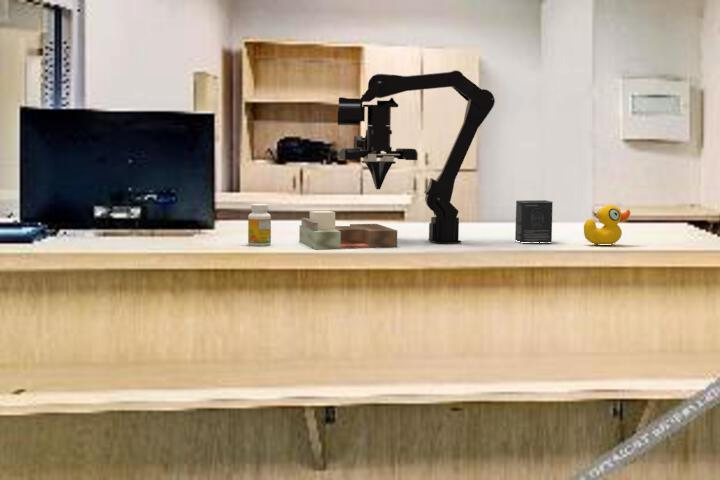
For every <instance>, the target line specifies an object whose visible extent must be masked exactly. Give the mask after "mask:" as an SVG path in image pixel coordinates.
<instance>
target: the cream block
mask: <svg viewBox="0 0 720 480" xmlns="http://www.w3.org/2000/svg"><path fill="white" fill-rule="evenodd" d="M309 219H310V220H312V221H315V222H317V223H318V230H321V229H335V226H336V212H335V211H332V210H309Z"/></svg>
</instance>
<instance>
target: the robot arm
mask: <svg viewBox="0 0 720 480" xmlns="http://www.w3.org/2000/svg"><path fill="white" fill-rule="evenodd" d="M367 83H368V84H367V90H366V91H365V92H364V94H361V98H357V97H356V98H348V97H343V96H342V97H341V96H339V98H338V107H337V109H338V110H337V126H361V122H365V118H366V115H365V114H366V108H367V118H366V119H367V122H366V123H367V125H366V126H367V127H366V128H367V129H366V130H365V136H364V137H363V136H362V135H354V137H353V147H341V148H340V150H339V156H338V157H339V160H343V161H358V160H360V159H362V160H361V163H362V164H365V165H366V167H367V168H368V170H369V172H370V175H371V178H372V181H373V184H374V187H375V189H376V190H381V188H382V185H383V184H384V181H385V180H386V176H387V174H388V172H389V170H390V169H391V167H392V165H393V164H394V165H396V161H395V159H397V160H405V161H418V157H419V156H418V151H417V149H416V148H407V147H406V148H400V147H399V148H398V147H397V148H396V149H395V150H392V146H391V135H392V134H393V130H391V129H392V127H391V123H392V122H391V120H392V119H391V118H392V111H391V110H392V108H398V107H399V104H398V103H397V102H396V100H395V99H394V97H391V96H394V95H395V96H396V95H398V94H401V93H405V92H411V91H421V90H432V89H433V90H434V89H441V88H442V89H443V88H452V89H454V90H455V91H456V92H457V94H459V95H460V96H461V97H462V99H464V100H465V101H466V102H467V104H466V108H465V113H464V117H463V122H462V125H461V127H460V130H459V132H458V134H457V136H456V139H455V141H454V143H453V144H452V148H451V149H450V151H449V154H448V156H447V159H446V161H445V163H444V166H443V168H442V169H441V172H440V174H439V175H438V177H437V178H436V179H434V178H432V177H430V179H429V184H428V186H427V188H426V189H425V190H424V192H423V193H424V194H425V197H424V201H425V204H426V206H427V207H428V209H430V211H432V212H433V215H434V216H431V218H430V222H429V224H428V240H427V241H429V242H433V243H434V244H451V243H452V244H455V243H456V244H459V243H462V240H459V235H460V234H459V232H460V231H459V230H460V229H459V228H460V226H459V225H460V217H458V215H459V210H458V209H457V208H456V207H455V205H453V204H452V202H451V200H452V196H453V192H454V186H455V181H456V179H457V176H458V174H459V171H460V169H461V168H462V165H463V163H464V161H465V158H466V156H467V154H468V151H469V149H470V146H471V145H472V142H473V140H474V138H475V137H476V136H475V135H476V133H477V131H478V129H479V127H480V126H481V125H482V123H483V122H484V121H485V119H486V118H487V117H488V115H490V112H491V111H492V109H493V108H494V105H495V103H496V101H495V100H496V99H495V97H494V94H493V93H492V91H490V90H488V89H486V88H484V89H483V88H480V87H479V86H478V85H477V84H475V83H474V82H473V81H471V79H469V78H467V77H466V76H465V75H464V74H463V72H461V71H460V70H455V69H454V70H451V71H447V72H446V71H445V72H435V73H424V74H415V75H414V74H413V75H398V74H389V73H376V74H374V75H372V76H371V77H370V78H369V81H368V82H367ZM387 97H391V98H390V99H389V100H379V99H382V98H383V99H384V98H387ZM374 99H378V100H376V104H363V103H370V102H372V101H373V100H374ZM382 152H383V153H382ZM378 158H379V160H377V159H378Z"/></svg>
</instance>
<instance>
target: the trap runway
mask: <svg viewBox="0 0 720 480" xmlns="http://www.w3.org/2000/svg"><path fill="white" fill-rule="evenodd" d="M300 220H301V224H300V225H299V239H298V240H299V241H298V242H300V243H301V244H304V245H306V246H308V247H310V248H312V249H314V250H336V249H337V250H339V249H340V250H341V248H348V249H375V248H376V249H377V248H379V249H381V248H385V249H386V248H397V247H398V230H397V229H395V228H391V227H388V226H384V225H381V224H378V223H352V224H351V223H350V224H349V225H339V226H338V225H335V229H321V230H318V223H317V222H315V221H312V220H310V218H307V217H301V219H300Z"/></svg>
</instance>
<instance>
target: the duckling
mask: <svg viewBox="0 0 720 480" xmlns="http://www.w3.org/2000/svg"><path fill="white" fill-rule="evenodd" d="M630 215H631V211H630V209H626V211H624V212H622V211H621V209H620V208H619V207H618V206H616V205H613V204H611V205H610V204H608V205H605V206H604V207H602V208H601V209H599V210H597V211H596V216H597V218H598V220H599V222H600V223H601V224H602V225H603V226H602V227H600V228H598V227H597V225H596V222H595V220H594V219H592V218H588V219H587V220H586V221H585V222H584V224H583V234H584V238H585V239H586V240H587V241H588V242H589V243H591V244H593V243H594V244H593V245H596V244H613V243H615V244H616V243H618V241H619V240H620V239H621V237H622V234H623V232H622V229H621V226H620V225H618V224H619V223H620V222H625V221H627V220H628V219H629V218H630ZM613 245H614V244H613Z"/></svg>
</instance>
